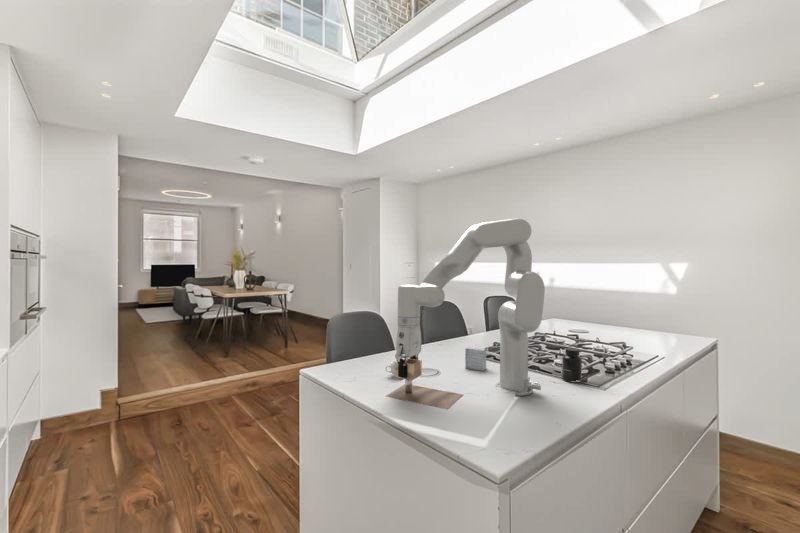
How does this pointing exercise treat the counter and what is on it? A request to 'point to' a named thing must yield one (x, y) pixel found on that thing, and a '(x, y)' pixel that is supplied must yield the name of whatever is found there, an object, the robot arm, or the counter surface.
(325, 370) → the counter surface
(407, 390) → the steel rod
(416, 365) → the wooden storage bin
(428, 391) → the walnut board
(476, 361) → the medicine box
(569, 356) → the supplement bottle
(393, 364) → the teacup
